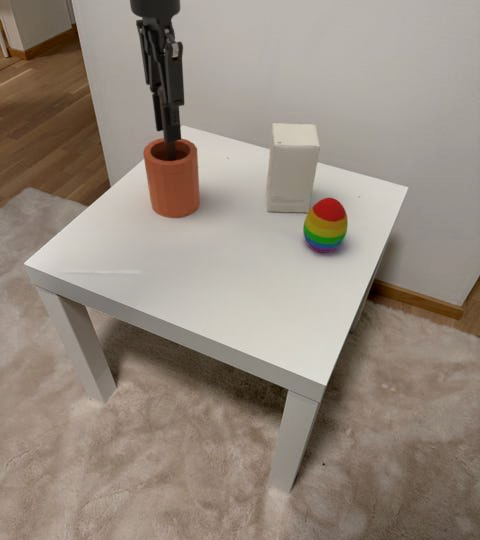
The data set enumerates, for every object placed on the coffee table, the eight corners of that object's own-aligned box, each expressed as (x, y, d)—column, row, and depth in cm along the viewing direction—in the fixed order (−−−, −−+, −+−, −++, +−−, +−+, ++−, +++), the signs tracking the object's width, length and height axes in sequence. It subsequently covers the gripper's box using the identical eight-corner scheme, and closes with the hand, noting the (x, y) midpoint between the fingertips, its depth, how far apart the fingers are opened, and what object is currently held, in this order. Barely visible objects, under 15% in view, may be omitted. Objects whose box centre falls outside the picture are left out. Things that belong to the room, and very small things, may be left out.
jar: (148, 217, 91) (139, 163, 82) (155, 188, 98) (147, 136, 88) (197, 218, 91) (194, 165, 82) (201, 190, 98) (198, 138, 89)
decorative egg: (294, 247, 86) (300, 203, 78) (311, 225, 91) (319, 182, 83) (332, 262, 83) (343, 219, 76) (349, 239, 88) (360, 196, 80)
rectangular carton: (309, 213, 93) (321, 146, 82) (266, 212, 93) (272, 145, 82) (306, 189, 99) (316, 123, 87) (266, 187, 99) (271, 121, 87)
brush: (186, 201, 93) (177, 87, 76) (171, 206, 92) (158, 90, 74) (179, 193, 95) (169, 79, 78) (164, 197, 94) (150, 82, 76)
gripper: (109, -31, 68) (133, 119, 86) (151, -1, 59) (168, 160, 77) (154, -35, 71) (168, 111, 89) (201, -7, 61) (207, 150, 79)
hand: (168, 134), depth 83 cm, fingers open, 4 cm apart
